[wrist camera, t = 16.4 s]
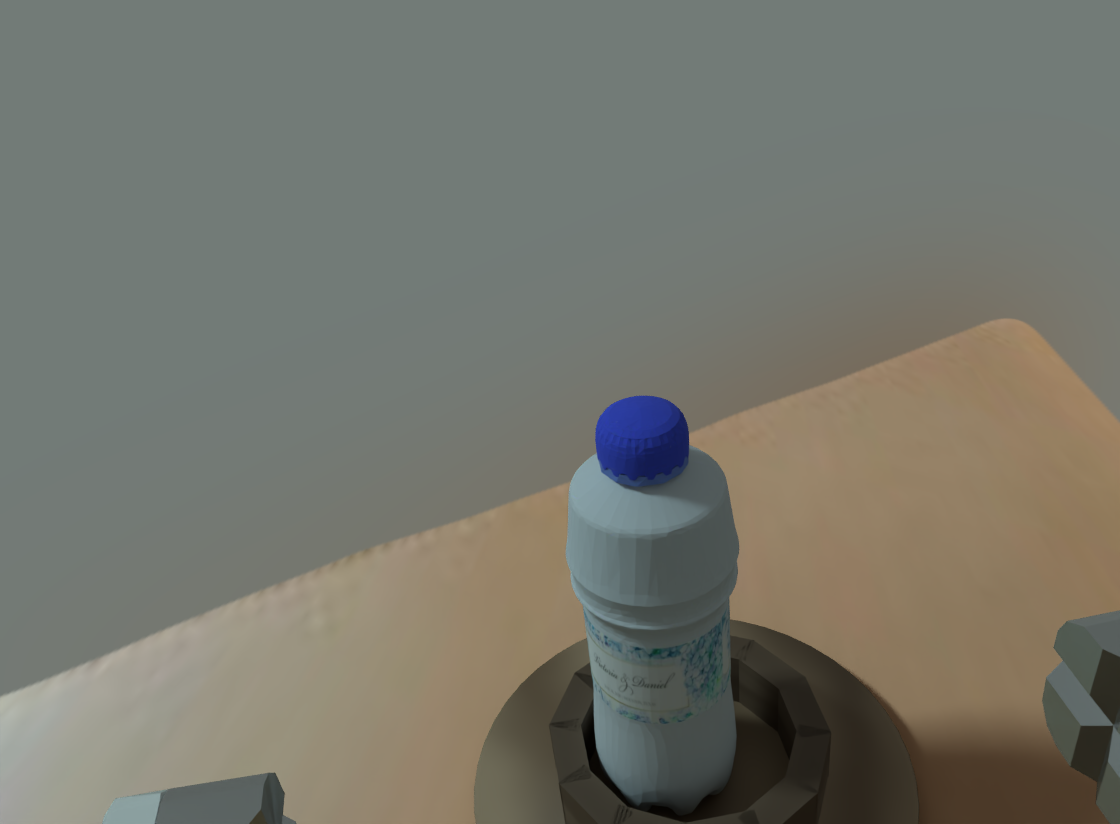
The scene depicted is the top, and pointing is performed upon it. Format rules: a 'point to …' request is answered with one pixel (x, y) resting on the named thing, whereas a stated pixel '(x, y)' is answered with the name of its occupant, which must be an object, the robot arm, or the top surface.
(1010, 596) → the top surface
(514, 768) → the coaster
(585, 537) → the bottle
